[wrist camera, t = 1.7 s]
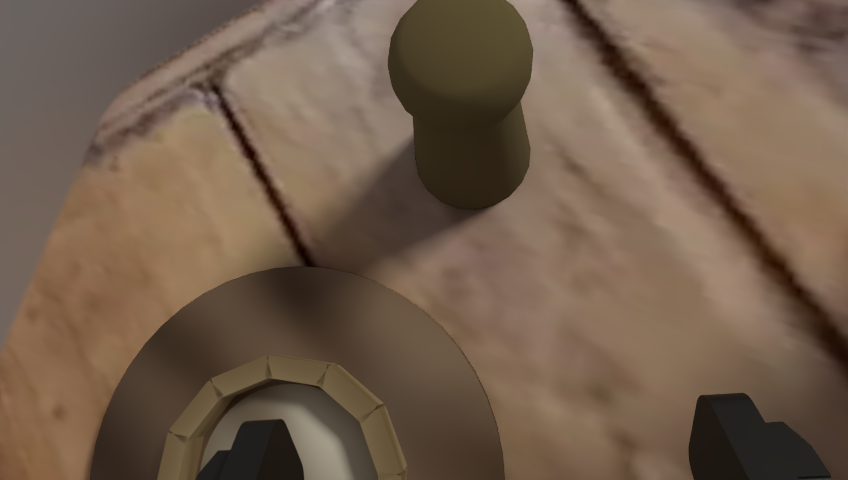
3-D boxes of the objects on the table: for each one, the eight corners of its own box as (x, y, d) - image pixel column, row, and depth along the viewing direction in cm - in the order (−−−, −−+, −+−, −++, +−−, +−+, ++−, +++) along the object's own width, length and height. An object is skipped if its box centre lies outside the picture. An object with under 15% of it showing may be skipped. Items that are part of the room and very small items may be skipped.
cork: (490, 231, 28) (484, 152, 17) (393, 172, 29) (332, 65, 18) (552, 134, 28) (584, 0, 18) (455, 81, 30) (430, -73, 19)
